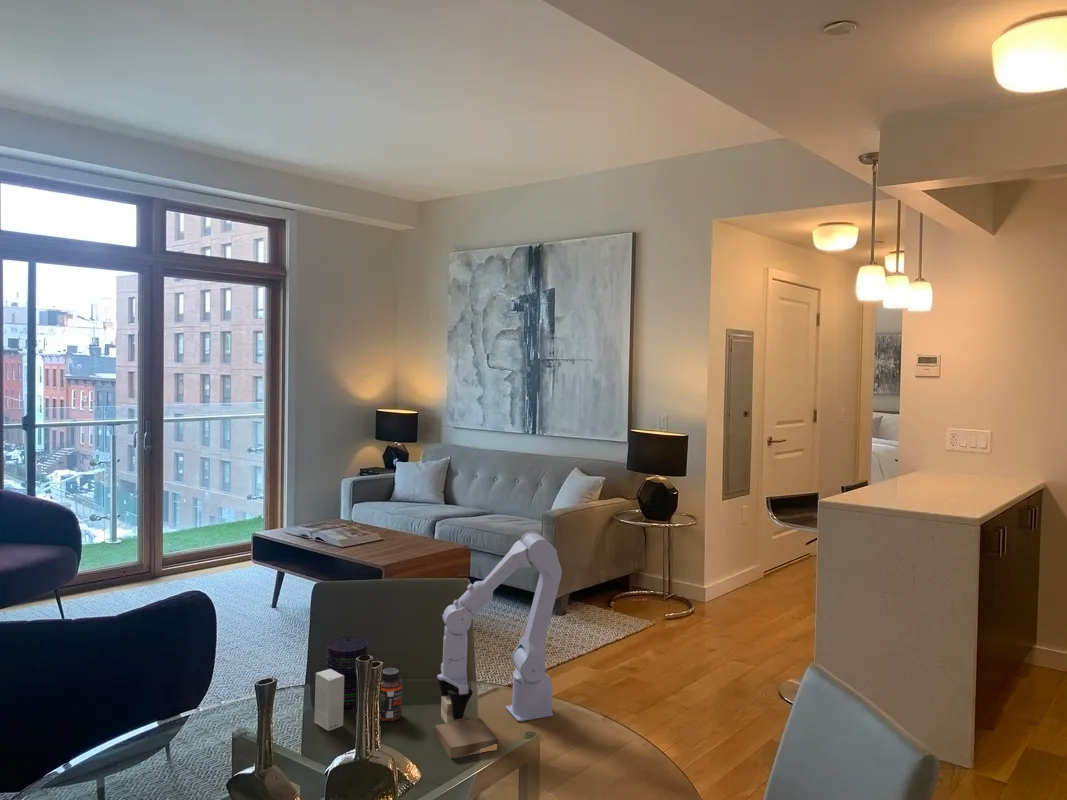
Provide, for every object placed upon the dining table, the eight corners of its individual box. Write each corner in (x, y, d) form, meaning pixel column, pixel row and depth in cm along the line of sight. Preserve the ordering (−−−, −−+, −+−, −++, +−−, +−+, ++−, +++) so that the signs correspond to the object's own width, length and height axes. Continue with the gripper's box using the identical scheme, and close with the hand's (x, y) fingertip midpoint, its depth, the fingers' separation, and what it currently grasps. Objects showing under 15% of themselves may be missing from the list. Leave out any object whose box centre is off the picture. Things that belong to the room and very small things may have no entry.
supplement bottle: (396, 724, 186) (397, 677, 185) (372, 721, 187) (373, 674, 186) (405, 713, 192) (406, 667, 191) (382, 710, 193) (383, 664, 192)
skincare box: (343, 726, 184) (345, 675, 183) (327, 732, 181) (329, 680, 180) (329, 717, 188) (330, 667, 187) (313, 722, 185) (314, 672, 184)
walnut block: (479, 730, 186) (479, 717, 186) (497, 752, 176) (497, 738, 176) (434, 738, 181) (434, 725, 181) (450, 761, 171) (450, 747, 171)
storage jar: (366, 710, 192) (368, 650, 191) (324, 712, 190) (326, 652, 189) (366, 692, 202) (367, 635, 201) (326, 695, 200) (327, 637, 199)
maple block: (458, 713, 193) (459, 693, 192) (464, 721, 189) (465, 701, 188) (440, 716, 191) (441, 696, 190) (446, 724, 187) (447, 704, 186)
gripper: (429, 647, 194) (427, 701, 194) (448, 669, 180) (446, 727, 181) (457, 643, 197) (455, 697, 197) (477, 665, 183) (475, 722, 184)
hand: (452, 711), depth 190 cm, fingers open, 7 cm apart
